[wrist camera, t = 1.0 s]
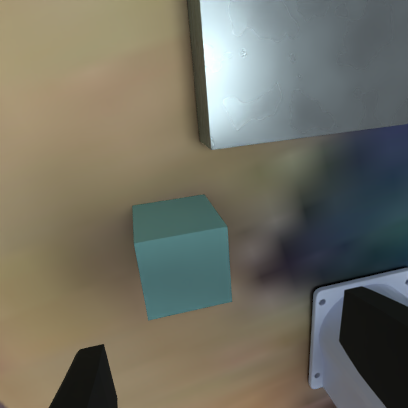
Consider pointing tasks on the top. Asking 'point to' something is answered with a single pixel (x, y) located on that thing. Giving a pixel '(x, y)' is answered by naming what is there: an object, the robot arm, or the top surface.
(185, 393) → the top surface
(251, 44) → the base block
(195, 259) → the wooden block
